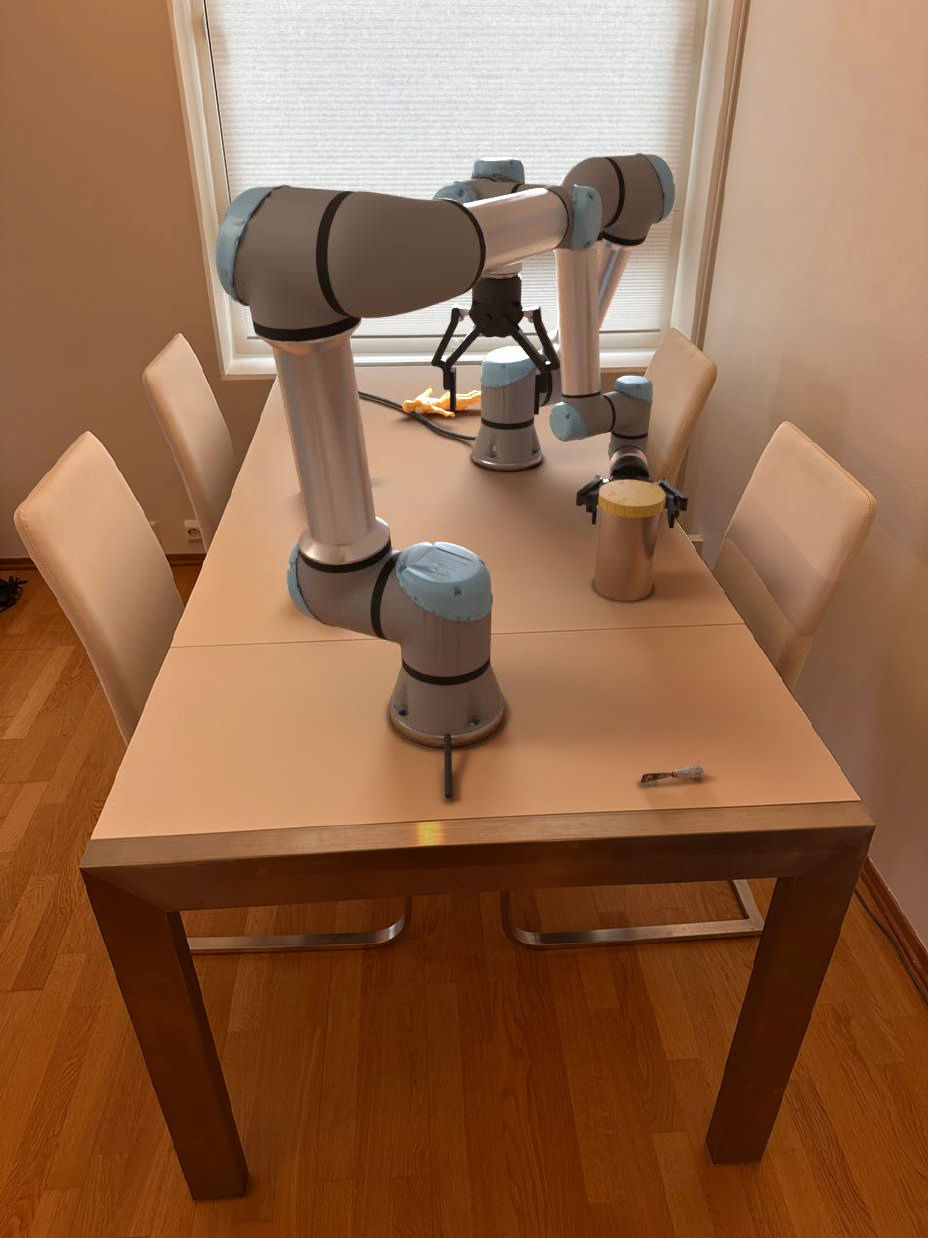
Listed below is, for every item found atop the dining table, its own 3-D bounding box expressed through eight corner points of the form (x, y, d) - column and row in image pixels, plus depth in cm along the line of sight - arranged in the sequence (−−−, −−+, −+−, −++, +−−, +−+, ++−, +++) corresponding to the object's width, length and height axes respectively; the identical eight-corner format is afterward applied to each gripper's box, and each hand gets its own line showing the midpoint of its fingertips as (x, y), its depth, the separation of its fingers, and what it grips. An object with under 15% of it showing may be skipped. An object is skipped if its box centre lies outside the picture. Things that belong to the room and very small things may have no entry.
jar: (589, 596, 147) (596, 503, 138) (600, 569, 155) (607, 480, 146) (646, 605, 145) (657, 511, 136) (654, 577, 152) (666, 487, 143)
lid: (592, 513, 139) (593, 501, 138) (604, 487, 147) (605, 476, 146) (659, 521, 136) (660, 510, 135) (668, 495, 144) (669, 483, 143)
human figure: (395, 413, 223) (394, 398, 221) (438, 390, 237) (438, 375, 235) (462, 429, 215) (462, 413, 213) (502, 404, 229) (503, 388, 227)
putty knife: (703, 777, 109) (705, 767, 109) (642, 788, 108) (644, 777, 107) (700, 772, 110) (702, 762, 109) (639, 782, 109) (640, 771, 108)
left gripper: (580, 269, 136) (571, 405, 147) (418, 266, 138) (422, 400, 150) (580, 279, 130) (571, 420, 141) (411, 276, 132) (415, 415, 143)
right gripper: (691, 493, 176) (702, 542, 158) (564, 487, 179) (561, 535, 161) (696, 457, 172) (708, 503, 154) (566, 452, 175) (563, 496, 157)
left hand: (494, 410), depth 145 cm, fingers open, 13 cm apart
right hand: (633, 519), depth 157 cm, fingers open, 13 cm apart
